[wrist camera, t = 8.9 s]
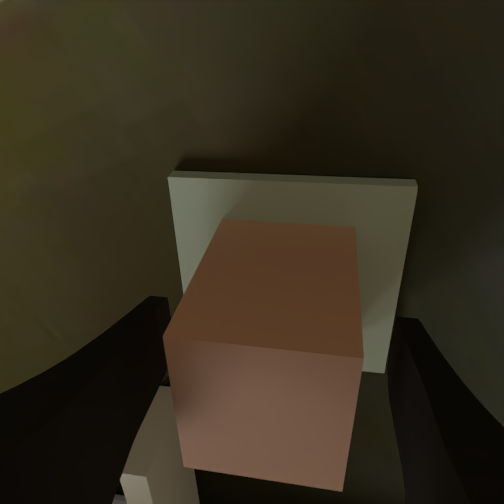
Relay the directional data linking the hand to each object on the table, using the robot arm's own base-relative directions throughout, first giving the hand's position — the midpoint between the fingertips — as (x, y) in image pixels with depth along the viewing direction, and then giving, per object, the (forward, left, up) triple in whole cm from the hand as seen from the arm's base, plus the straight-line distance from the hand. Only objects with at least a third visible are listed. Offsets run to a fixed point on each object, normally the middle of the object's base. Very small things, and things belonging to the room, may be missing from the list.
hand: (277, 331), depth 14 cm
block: (0, 0, -3) cm, 3 cm away
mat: (0, 0, -3) cm, 3 cm away
